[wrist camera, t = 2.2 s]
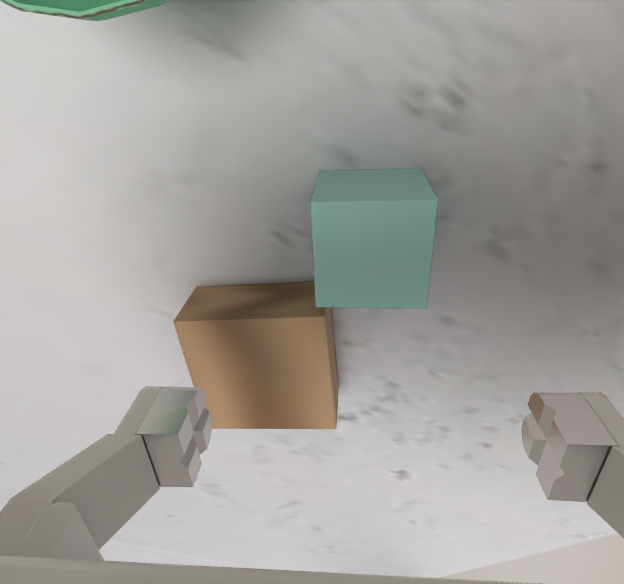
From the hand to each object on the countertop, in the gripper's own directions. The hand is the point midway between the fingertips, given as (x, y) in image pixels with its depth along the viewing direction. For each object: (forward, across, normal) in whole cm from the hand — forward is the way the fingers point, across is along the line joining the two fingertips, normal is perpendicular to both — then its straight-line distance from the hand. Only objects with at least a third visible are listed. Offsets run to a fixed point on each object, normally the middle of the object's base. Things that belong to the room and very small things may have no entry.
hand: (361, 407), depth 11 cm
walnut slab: (+14, +5, +8) cm, 17 cm away
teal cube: (+14, -1, 0) cm, 14 cm away
